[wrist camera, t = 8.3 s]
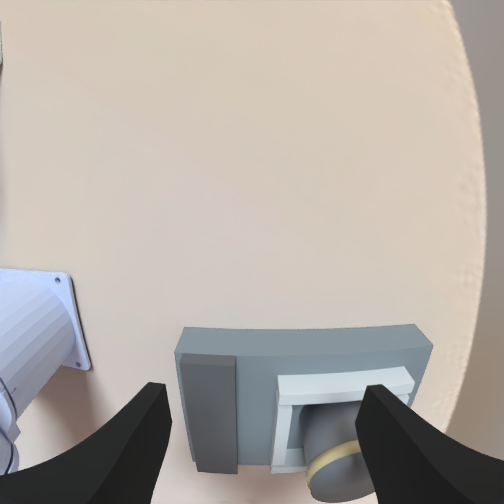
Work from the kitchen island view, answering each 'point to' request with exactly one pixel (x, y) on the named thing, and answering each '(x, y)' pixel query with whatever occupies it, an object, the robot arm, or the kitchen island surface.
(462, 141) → the kitchen island surface
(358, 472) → the lens
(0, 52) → the skincare box
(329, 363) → the camera body
